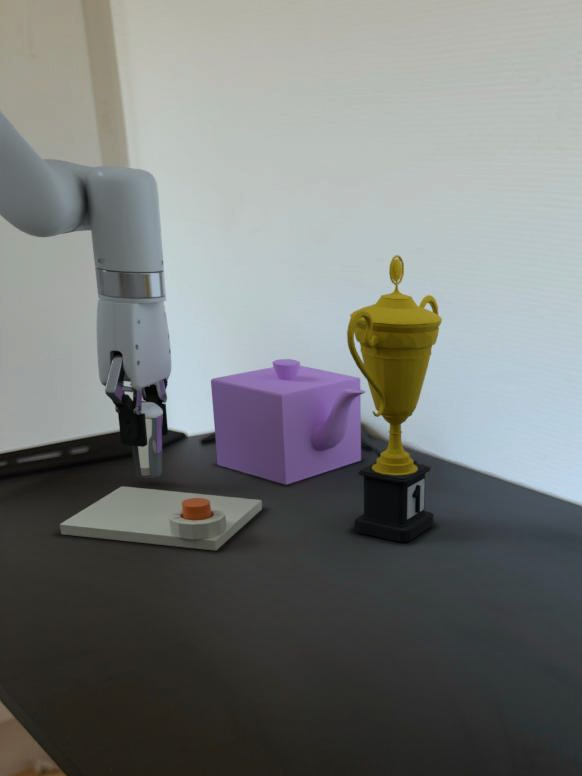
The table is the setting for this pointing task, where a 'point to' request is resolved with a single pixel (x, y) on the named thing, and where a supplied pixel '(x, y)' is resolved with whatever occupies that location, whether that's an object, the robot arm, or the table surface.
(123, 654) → the table surface
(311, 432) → the teapot
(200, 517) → the button
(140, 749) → the table surface
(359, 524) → the trophy
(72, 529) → the scale
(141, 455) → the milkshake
